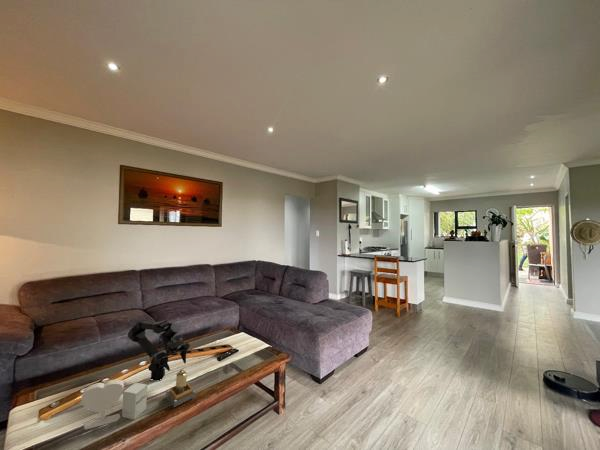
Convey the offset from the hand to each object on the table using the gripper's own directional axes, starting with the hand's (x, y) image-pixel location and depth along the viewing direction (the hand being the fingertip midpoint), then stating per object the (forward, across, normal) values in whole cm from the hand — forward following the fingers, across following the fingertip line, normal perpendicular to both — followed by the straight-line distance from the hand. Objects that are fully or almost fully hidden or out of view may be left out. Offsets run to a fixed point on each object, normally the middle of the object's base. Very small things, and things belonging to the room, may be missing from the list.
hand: (177, 366), depth 141 cm
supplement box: (+10, -21, +10) cm, 25 cm away
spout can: (+12, -1, +2) cm, 13 cm away
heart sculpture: (+6, -32, +14) cm, 36 cm away
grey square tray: (+15, -1, +5) cm, 15 cm away
